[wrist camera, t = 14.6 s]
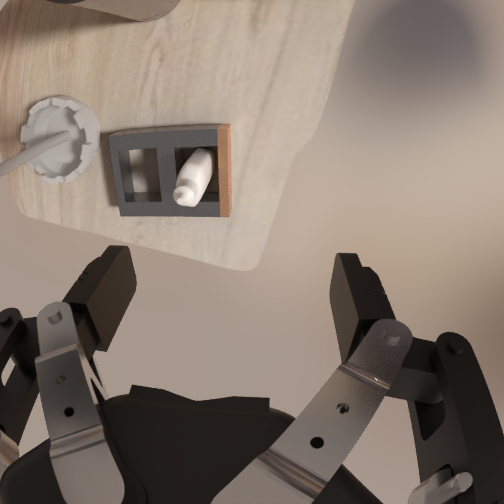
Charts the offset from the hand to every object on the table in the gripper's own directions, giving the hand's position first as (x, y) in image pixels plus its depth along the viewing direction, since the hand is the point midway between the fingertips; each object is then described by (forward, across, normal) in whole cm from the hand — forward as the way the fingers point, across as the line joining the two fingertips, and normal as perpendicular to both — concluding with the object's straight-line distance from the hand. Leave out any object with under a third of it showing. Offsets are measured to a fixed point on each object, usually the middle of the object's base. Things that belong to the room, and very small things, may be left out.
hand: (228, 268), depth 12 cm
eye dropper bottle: (+32, +8, +6) cm, 34 cm away
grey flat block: (+32, +12, +6) cm, 35 cm away
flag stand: (+32, +28, 0) cm, 43 cm away
